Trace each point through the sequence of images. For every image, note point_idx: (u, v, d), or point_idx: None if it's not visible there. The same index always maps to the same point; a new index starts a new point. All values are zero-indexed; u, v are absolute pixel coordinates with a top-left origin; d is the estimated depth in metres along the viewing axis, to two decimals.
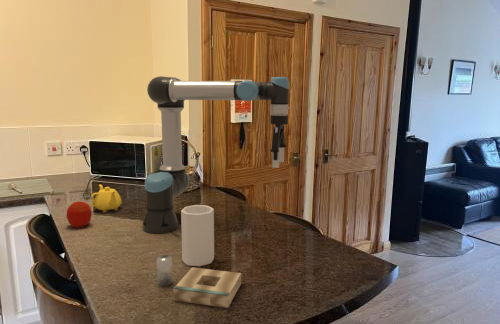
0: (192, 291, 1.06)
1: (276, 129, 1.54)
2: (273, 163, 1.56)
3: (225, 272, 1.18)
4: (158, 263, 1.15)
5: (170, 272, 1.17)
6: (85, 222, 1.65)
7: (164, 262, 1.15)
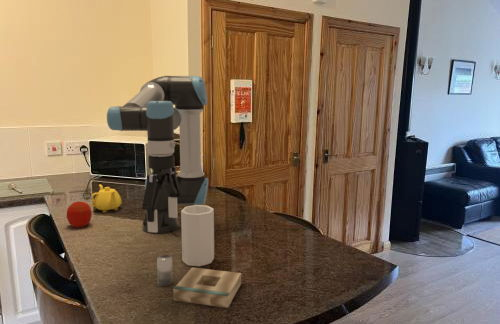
0: (192, 291, 1.06)
1: (151, 177, 1.06)
2: (149, 225, 1.08)
3: (225, 272, 1.18)
4: (158, 263, 1.15)
5: (170, 272, 1.17)
6: (85, 222, 1.65)
7: (165, 262, 1.15)
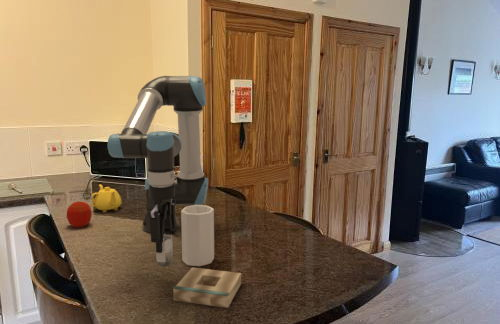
0: (192, 291, 1.06)
1: (152, 214, 1.08)
2: (157, 255, 1.15)
3: (225, 272, 1.18)
4: None
5: (170, 253, 1.16)
6: (85, 222, 1.65)
7: None
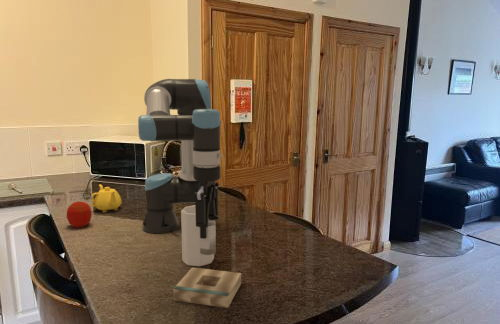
0: (192, 291, 1.06)
1: (198, 196, 1.01)
2: (201, 242, 1.07)
3: (225, 272, 1.18)
4: None
5: (214, 240, 1.09)
6: (85, 222, 1.65)
7: None
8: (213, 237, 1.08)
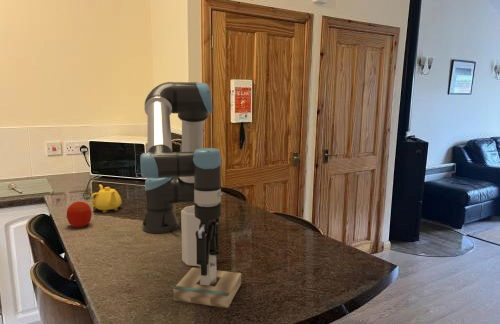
0: (192, 291, 1.06)
1: (200, 235, 1.03)
2: (202, 278, 1.09)
3: (225, 272, 1.18)
4: None
5: (215, 281, 1.11)
6: (85, 222, 1.65)
7: None
8: (214, 278, 1.11)
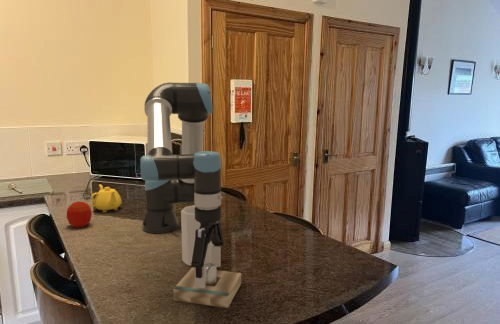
0: (192, 291, 1.06)
1: (199, 233, 1.03)
2: (197, 281, 1.05)
3: (225, 272, 1.18)
4: None
5: (215, 281, 1.11)
6: (85, 222, 1.65)
7: (209, 271, 1.09)
8: (214, 278, 1.11)
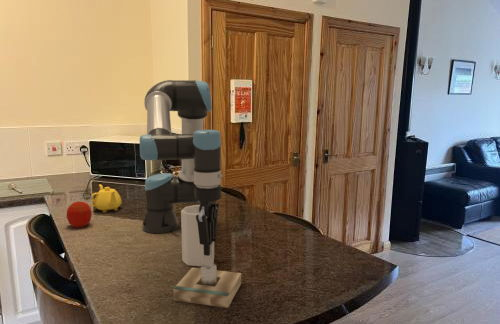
0: (192, 291, 1.06)
1: (200, 219, 1.03)
2: (205, 258, 1.10)
3: (225, 272, 1.18)
4: (203, 272, 1.10)
5: (215, 281, 1.11)
6: (85, 222, 1.65)
7: (209, 271, 1.09)
8: (214, 278, 1.11)
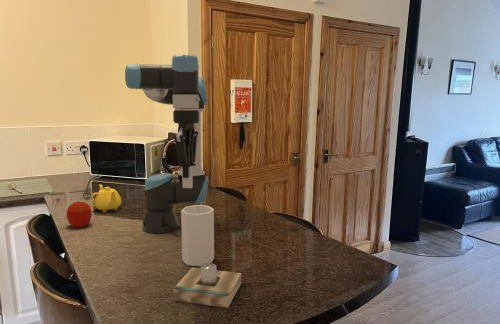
0: (192, 291, 1.06)
1: (178, 138, 1.08)
2: (184, 181, 1.16)
3: (225, 272, 1.18)
4: (203, 272, 1.10)
5: (215, 281, 1.11)
6: (85, 222, 1.65)
7: (209, 271, 1.09)
8: (214, 278, 1.11)
